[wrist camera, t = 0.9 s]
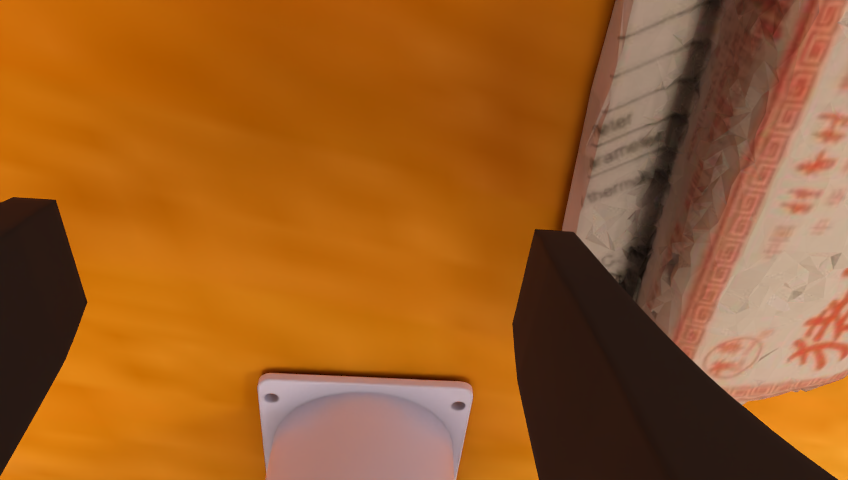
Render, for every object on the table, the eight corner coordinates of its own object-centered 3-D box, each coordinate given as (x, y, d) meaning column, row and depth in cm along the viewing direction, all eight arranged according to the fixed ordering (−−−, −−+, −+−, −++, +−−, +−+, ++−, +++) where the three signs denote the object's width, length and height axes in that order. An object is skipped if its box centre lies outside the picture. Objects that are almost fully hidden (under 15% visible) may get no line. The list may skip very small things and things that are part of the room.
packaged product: (825, -431, 8) (1554, -367, 9) (690, -373, 12) (1197, -330, 12) (559, 443, 19) (886, 449, 19) (533, 326, 23) (807, 333, 23)
